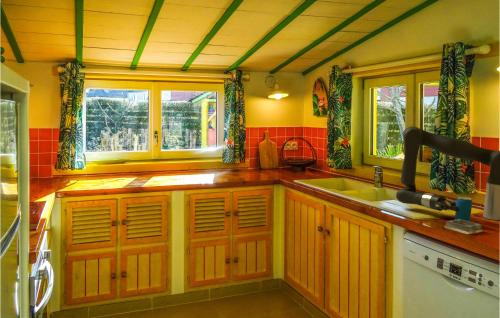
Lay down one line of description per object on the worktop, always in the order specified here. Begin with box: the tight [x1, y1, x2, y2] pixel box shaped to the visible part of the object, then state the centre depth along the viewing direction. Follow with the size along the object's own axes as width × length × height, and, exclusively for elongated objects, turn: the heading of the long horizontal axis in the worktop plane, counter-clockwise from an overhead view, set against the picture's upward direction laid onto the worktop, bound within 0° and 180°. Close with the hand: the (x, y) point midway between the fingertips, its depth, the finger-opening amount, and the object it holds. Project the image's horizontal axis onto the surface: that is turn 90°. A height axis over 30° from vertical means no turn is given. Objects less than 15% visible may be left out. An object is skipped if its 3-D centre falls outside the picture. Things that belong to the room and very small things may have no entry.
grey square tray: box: [444, 219, 484, 235], centre depth 191 cm, size 11×11×3 cm
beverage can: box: [454, 196, 473, 222], centre depth 201 cm, size 6×6×12 cm
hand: (464, 208), depth 201 cm, fingers open, 8 cm apart
